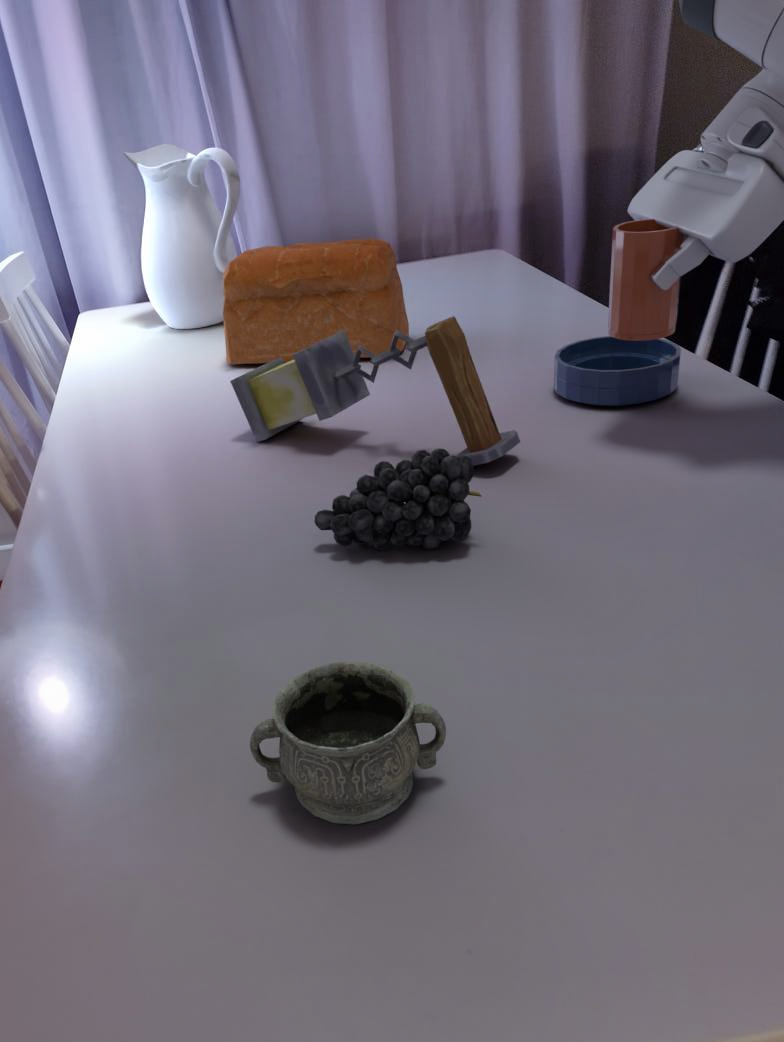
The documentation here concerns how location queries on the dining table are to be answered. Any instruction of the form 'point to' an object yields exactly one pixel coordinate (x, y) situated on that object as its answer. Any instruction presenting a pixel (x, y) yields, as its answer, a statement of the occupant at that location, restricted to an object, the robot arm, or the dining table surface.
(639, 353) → the bowl
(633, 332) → the cup
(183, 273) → the pitcher
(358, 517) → the fruit
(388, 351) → the lantern
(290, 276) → the bread
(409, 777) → the vessel
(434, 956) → the dining table surface
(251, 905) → the dining table surface
